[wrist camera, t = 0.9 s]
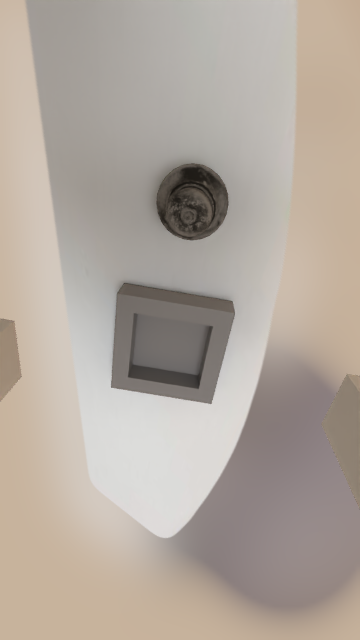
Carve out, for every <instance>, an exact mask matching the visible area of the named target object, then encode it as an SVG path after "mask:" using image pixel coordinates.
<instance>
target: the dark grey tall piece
mask: <svg viewBox="0 0 360 640" xmlns="http://www.w3.org/2000/svg"><path fill="white" fill-rule="evenodd" d="M157 209H158V214H159V217H160V219H161V221H162V223H163V225H164V226H165V227H166V228H167V230H168V231H170V232H171V233H172V234H173V235H175V236H177V237H179V238H182V239H186V240H198V239H202V238H205V237H207V236H209V235H211V234H212V233H213V232H215V231H216V230H217V229H218V228H219V226H220V225H221V224H222V223H223V221H224V218H225V216H226V214H227V209H228V193H227V190H226V187H225V184H224V183H223V181H222V179H221V178H220V176H219V175H218V174H217V173H215V172H214V171H213V170H212V169H210V168H208V167H206V166H204V165H199V164H187V165H182V166H180V167H178V168H176V169H174V170H173V171H172V172H170V173H169V174H168V175H167V176H166V177H165V179H164V180H163V182H162V183H161V185H160V188H159V191H158V194H157Z"/></svg>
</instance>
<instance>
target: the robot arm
mask: <svg viewBox="0 0 360 640" xmlns="http://www.w3.org/2000/svg"><path fill="white" fill-rule="evenodd" d="M15 331H16V330H15V323H14V321H12V320H6V319H0V401H1V400H2V399H3V398H4V397H5V395H6V394H7V393H8V392H9V391H10V390H11V388H12V387H13V386H14V385H15V383H17V381H18V380H19V379H20V378H21V369H20V361H19V353H18V346H17V338H16V332H15ZM322 426H323V429H324V431H325V433H326V435H327V438H328V440H329V442H330V444H331V446H332V449H333V451H334V453H335V455H336V457H337V460H338V462H339V464H340V466H341V469H342V471H343V473H344V475H345V477H346V480H347V482H348V484H349V486H350V488H351V491H352V493H353V495H354V497H355V500H356V502H357V504H358V506H359V508H360V376H357V375H350V374H347V375H346V377H345V379H344V381H343V383H342V385H341V387H340V389H339V391H338V393H337V395H336V397H335V399H334V401H333V402H332V404H331V406H330V408H329V410H328V412H327V414H326V416H325V418H324V420H323V422H322Z"/></svg>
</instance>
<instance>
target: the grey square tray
mask: <svg viewBox="0 0 360 640" xmlns="http://www.w3.org/2000/svg"><path fill="white" fill-rule="evenodd" d="M234 315H235V311H234V307H233V302H232V301H227V300H221V299H215V298H209V297H203V296H197V295H191V294H185V293H179V292H173V291H167V290H161V289H155V288H149V287H143V286H137V285H131V284H125V283H124V284H123V286H122V287H121V289H120V290H119V292H118V293H117V304H116V319H115V335H114V350H113V366H112V381H111V388H117V389H123V390H129V391H136V392H142V393H148V394H154V395H160V396H166V397H172V398H178V399H184V400H191V401H197V402H203V403H209V404H212V400H213V396H214V392H215V388H216V384H217V381H218V377H219V373H220V369H221V365H222V361H223V358H224V354H225V350H226V346H227V342H228V338H229V335H230V331H231V327H232V323H233V319H234Z"/></svg>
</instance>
